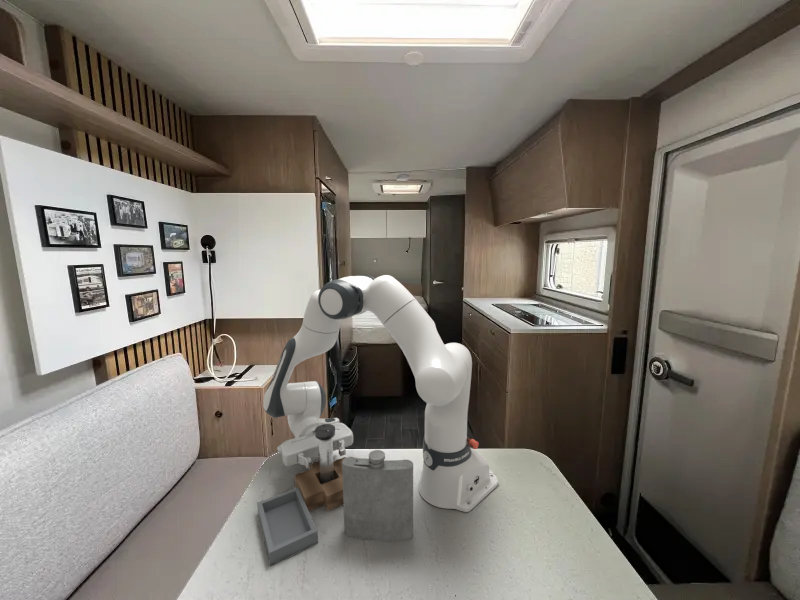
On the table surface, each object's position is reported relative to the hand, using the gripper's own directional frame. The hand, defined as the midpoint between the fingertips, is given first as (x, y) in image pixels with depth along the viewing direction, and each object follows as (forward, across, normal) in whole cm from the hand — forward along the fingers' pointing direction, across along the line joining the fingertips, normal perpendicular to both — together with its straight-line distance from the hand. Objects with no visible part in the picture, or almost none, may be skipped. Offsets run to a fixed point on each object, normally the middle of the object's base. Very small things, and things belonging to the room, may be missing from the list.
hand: (326, 458), depth 87 cm
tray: (+7, -13, +9) cm, 17 cm away
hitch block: (0, 0, +9) cm, 9 cm away
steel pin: (0, 0, +9) cm, 9 cm away
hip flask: (+20, +5, +9) cm, 23 cm away
